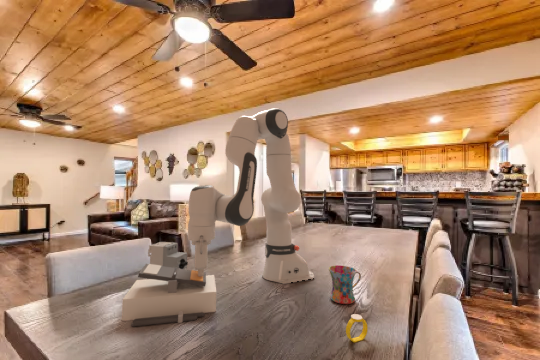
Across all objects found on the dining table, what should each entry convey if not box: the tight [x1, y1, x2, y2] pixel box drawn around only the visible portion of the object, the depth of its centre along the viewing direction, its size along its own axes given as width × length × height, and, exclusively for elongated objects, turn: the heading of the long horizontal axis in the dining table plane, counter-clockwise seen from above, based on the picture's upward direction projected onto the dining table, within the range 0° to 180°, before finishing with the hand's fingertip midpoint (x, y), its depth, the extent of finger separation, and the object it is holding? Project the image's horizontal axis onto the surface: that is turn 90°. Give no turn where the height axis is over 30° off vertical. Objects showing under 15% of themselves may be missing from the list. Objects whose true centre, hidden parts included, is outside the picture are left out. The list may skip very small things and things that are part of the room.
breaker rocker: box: [137, 263, 207, 286], centre depth 84 cm, size 20×10×2 cm, turn 104°
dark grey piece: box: [131, 311, 205, 328], centre depth 73 cm, size 19×3×2 cm, turn 104°
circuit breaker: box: [147, 241, 189, 270], centre depth 103 cm, size 8×14×15 cm, turn 78°
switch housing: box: [121, 268, 217, 322], centre depth 84 cm, size 26×16×10 cm, turn 104°
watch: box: [345, 313, 369, 344], centre depth 65 cm, size 6×3×6 cm, turn 114°
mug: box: [328, 264, 362, 305], centre depth 89 cm, size 12×9×11 cm
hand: (200, 275), depth 86 cm, fingers closed, pressing on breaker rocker
